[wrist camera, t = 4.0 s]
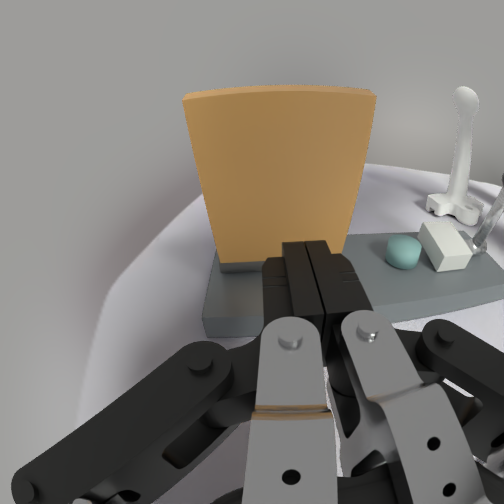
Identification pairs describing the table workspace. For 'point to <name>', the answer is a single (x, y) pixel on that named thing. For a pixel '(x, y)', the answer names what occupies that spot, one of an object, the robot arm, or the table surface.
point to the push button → (403, 251)
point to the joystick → (460, 166)
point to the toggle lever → (487, 225)
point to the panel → (373, 281)
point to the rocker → (444, 246)
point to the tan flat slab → (278, 165)
